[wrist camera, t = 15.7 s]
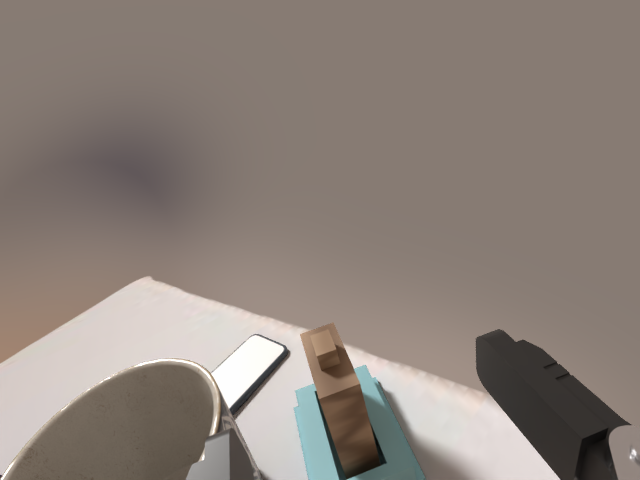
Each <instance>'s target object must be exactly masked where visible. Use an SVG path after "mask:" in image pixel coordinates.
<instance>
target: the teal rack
mask: <svg viewBox="0 0 640 480" xmlns="http://www.w3.org/2000/svg"><path fill="white" fill-rule="evenodd" d="M354 371H355V373H356V375H357V377H358V380H359V382H360V385H361V389H362V393H363V397H364V401H365V405H366V409H367V413H368V417H369V421H370V424H371V428H372V432H373V436H374V440H375V444H376V448H377V452H378V456H379V460H380V464H381V466H379V467H376V468H374V469H371V470H369V471H366V472H364V473H362V474H359V475H357V476H354V477H352V478H349V479H346V476H345V474H344V471H343V468H342V465H341V462H340V459H339V456H338V453H337V450H336V447H335V444H334V442H333V439H332V436H331V433H330V430H329V427H328V424H327V421H326V418H325V415H324V412H323V410H322V407H321V404H320V401H319V398H318V394H317V391H316V387H315V384H312V385H309V386H306V387H304V388H301V389H298V390H295V392H296V397H297V401H298V406H297V407H294V411H295V416H296V421H297V426H298V431H299V436H300V440H301V445H302V450H303V455H304V460H305V465H306V470H307V475H308V480H426V478H425V476H424V474H423V472H422V470H421V468H420V466H419V464H418V462H417V460H416V458H415V456H414V454H413V452H412V450H411V448H410V446H409V444H408V442H407V440H406V438H405V436H404V433H403V431H402V429H401V427H400V425H399V423H398V421H397V419H396V417H395V415H394V413H393V411H392V409H391V407H390V405H389V403H388V401H387V399H386V397H385V395H384V393H383V391H382V389H381V387H380V385H379V383H378V381H377V379H376V377H374V378H372V377H371V375H370V373H369V371H368V369H367V367H366V365H363V366H361V367H358V368H355V369H354Z"/></svg>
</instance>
